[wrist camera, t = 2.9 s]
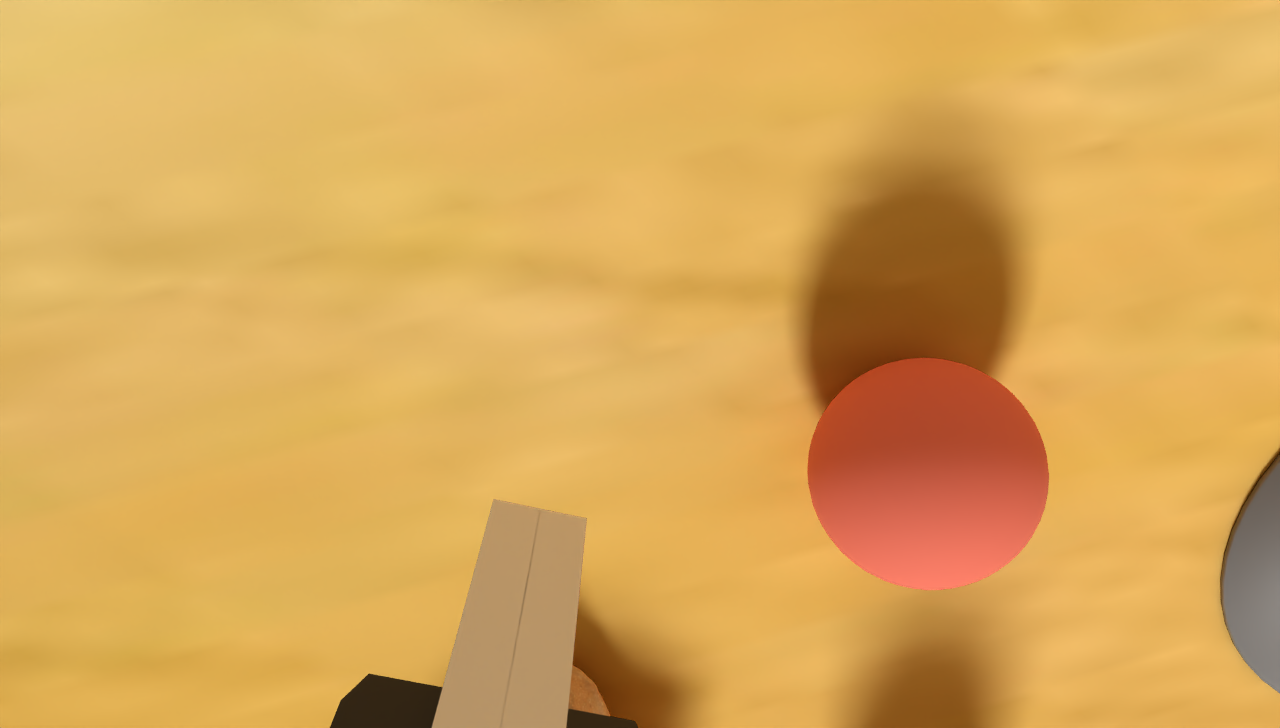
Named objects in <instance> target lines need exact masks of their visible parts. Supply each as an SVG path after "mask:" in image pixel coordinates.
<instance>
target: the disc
mask: <svg viewBox="0 0 1280 728" xmlns="http://www.w3.org/2000/svg"><path fill="white" fill-rule="evenodd" d="M1221 605H1222V610H1223V615H1224V620H1225V625H1226V627H1227V630H1228V632H1229V635H1230V637H1231V640H1232V642H1233V644H1234V646H1235V647H1236V649H1237V650H1238V652H1239V653H1240V655H1241V656H1242V658H1243V660H1244V661H1245V662H1246V663H1247V664H1248V665H1249V667H1250V668H1251V669H1252V670H1253V671H1254V672H1255V673H1256V674H1257V675H1258V676H1259V677H1260V678H1261V679H1262V680H1263V681H1264V682H1265V683H1267V684H1268V685H1269V686H1271V687H1272V688H1273V689H1275V690H1276V691H1278V692H1279V693H1280V455H1279V456H1278V457H1277V458H1276V459H1275V461H1274V462H1273V463H1272V465H1271V466H1270V467H1269V468H1268V470H1267V471H1266V472H1265V473H1264V475H1263V476H1262V477H1261V479H1260V480H1259V481H1258V483H1257V485H1256V486H1255V488H1254V489H1253V491H1252V493H1251V494H1250V496H1249V497H1248V499H1247V501H1246V502H1245V504H1244V506H1243V508H1242V510H1241V512H1240V514H1239V516H1238V519H1237V521H1236V523H1235V525H1234V527H1233V529H1232V532H1231V535H1230V538H1229V542H1228V545H1227V548H1226V552H1225V555H1224V560H1223V567H1222V574H1221Z"/></svg>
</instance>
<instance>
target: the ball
mask: <svg viewBox="0 0 1280 728" xmlns="http://www.w3.org/2000/svg"><path fill="white" fill-rule="evenodd" d="M1048 483H1049V472H1048V463H1047V455H1046V451H1045V448H1044V444H1043V441H1042V438H1041V436H1040V433H1039V431H1038V429H1037V427H1036V425H1035V422H1034V421H1033V419H1032V418H1031V416H1030V415H1029V413H1028V412H1027V410H1026V409H1025V408H1024V406H1023V405H1022V403H1021V402H1020V401H1019V400H1018V399H1017V398H1016V397H1015V396H1014V395H1013V394H1012V393H1011V392H1010V391H1009V390H1008V389H1007V388H1005V387H1004V386H1003V385H1002V384H1000V383H999V382H998V381H997V380H995V379H993V378H992V377H990V376H988V375H986V374H985V373H983V372H981V371H979V370H977V369H975V368H972V367H970V366H967V365H965V364H961V363H957V362H953V361H949V360H945V359H937V358H913V359H905V360H899V361H895V362H891V363H887V364H884V365H882V366H879V367H876V368H874V369H872V370H870V371H868V372H866V373H864V374H862V375H861V376H859V377H858V378H856V379H855V380H853V381H852V382H851V383H850V384H848V385H847V386H846V387H845V388H844V389H843V390H842V391H841V392H840V393H839V394H838V395H837V396H836V397H835V398H834V399H833V400H832V402H831V403H830V404H829V406H828V407H827V408H826V410H825V411H824V413H823V415H822V416H821V418H820V420H819V422H818V424H817V427H816V430H815V432H814V435H813V438H812V441H811V445H810V450H809V457H808V484H809V489H810V494H811V498H812V503H813V506H814V508H815V511H816V513H817V516H818V518H819V520H820V522H821V524H822V526H823V528H824V529H825V531H826V533H827V534H828V536H829V537H830V538H831V540H832V541H833V542H834V543H835V545H836V546H837V547H838V548H839V549H840V551H841V552H842V553H843V554H845V555H846V556H847V557H848V558H849V559H850V560H851V561H853V562H854V563H855V564H856V565H858V566H859V567H860V568H862V569H863V570H865V571H866V572H868V573H870V574H872V575H874V576H876V577H878V578H880V579H882V580H884V581H887V582H890V583H893V584H896V585H900V586H904V587H909V588H914V589H923V590H942V589H951V588H956V587H960V586H965V585H968V584H971V583H974V582H977V581H979V580H981V579H983V578H986V577H988V576H990V575H991V574H993V573H995V572H996V571H998V570H999V569H1001V568H1002V567H1004V566H1005V565H1006V564H1008V563H1009V562H1010V561H1011V560H1012V559H1013V558H1015V557H1016V556H1017V555H1018V554H1019V553H1020V551H1021V550H1022V549H1023V548H1024V547H1025V546H1026V544H1027V543H1028V541H1029V540H1030V539H1031V537H1032V535H1033V534H1034V532H1035V530H1036V528H1037V526H1038V524H1039V522H1040V520H1041V517H1042V514H1043V511H1044V509H1045V504H1046V499H1047V493H1048Z"/></svg>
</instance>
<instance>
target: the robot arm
mask: <svg viewBox="0 0 1280 728" xmlns="http://www.w3.org/2000/svg"><path fill="white" fill-rule="evenodd" d="M586 521H587V518H583V517H578V516H573V515H568V514H563V513H558V512H554V511H549V510H544V509H539V508H534V507H529V506H525V505H520V504H515V503H510V502H505V501H500V500H496V499H494V500H493V504H492V507H491V511H490V515H489V518H488V522H487V526H486V529H485V533H484V537H483V540H482V544H481V548H480V552H479V555H478V559H477V563H476V566H475V570H474V574H473V577H472V581H471V585H470V588H469V592H468V596H467V599H466V603H465V607H464V610H463V614H462V618H461V622H460V625H459V629H458V633H457V636H456V640H455V644H454V647H453V651H452V655H451V658H450V662H449V666H448V669H447V673H446V677H445V681H444V684H443V687H437V686H432V685H427V684H421V683H416V682H410V681H405V680H400V679H394V678H389V677H384V676H378V675H373V674H368V675H367V676H366V677H365V678H364V679H363V680H362V681H361V682H360V683H359V684H358V685H357V686H356V687H354V688H353V689H352V690H351V691H350V692H349V693H348V694H347V695H346V696H345V697H344V698H343V699H342V700H341V701H340V704H339V706H338V709H337V711H336V714H335V716H334V719H333V721H332V724H331V726H330V728H638V726H637V724H636V722H635V721H632V720H627V719H622V718H616V717H611V716H606V715H600V714H595V713H590V712H584V711H579V710H574V709H568V705H569V694H570V684H571V674H572V664H573V654H574V643H575V633H576V623H577V613H578V603H579V592H580V582H581V572H582V562H583V552H584V541H585V531H586Z"/></svg>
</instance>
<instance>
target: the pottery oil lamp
mask: <svg viewBox="0 0 1280 728" xmlns="http://www.w3.org/2000/svg"><path fill="white" fill-rule="evenodd" d="M568 709H574V710H579V711H584V712H590V713H595V714H600V715H606V716H610V713H609V711H608V709H607V706H606V704H605V703H604V700H603V698H602V696H601V694H600V693H599V691H598V688H597V686H596V684H595V683H594V682H593V681H592V680H591V679H590V678H588V676H587V675H586V674H585V673H583V672H582V671H581V670H580V669H579V668H577V667H575V666H574V665H572V674H571V684H570V694H569V705H568Z"/></svg>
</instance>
